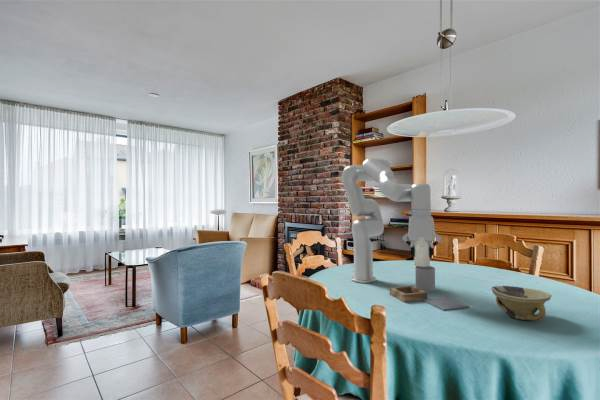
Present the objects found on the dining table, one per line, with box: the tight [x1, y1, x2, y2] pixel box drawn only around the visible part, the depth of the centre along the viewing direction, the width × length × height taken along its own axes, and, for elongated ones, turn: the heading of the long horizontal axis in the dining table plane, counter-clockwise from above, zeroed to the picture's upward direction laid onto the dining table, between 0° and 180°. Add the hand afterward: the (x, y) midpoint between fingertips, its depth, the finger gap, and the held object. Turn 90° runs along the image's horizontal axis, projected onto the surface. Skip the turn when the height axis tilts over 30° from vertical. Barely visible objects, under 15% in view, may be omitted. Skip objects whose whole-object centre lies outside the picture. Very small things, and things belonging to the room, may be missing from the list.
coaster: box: [422, 296, 470, 312], centre depth 127 cm, size 12×12×1 cm
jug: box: [413, 237, 431, 267], centre depth 132 cm, size 8×6×12 cm
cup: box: [415, 265, 436, 293], centre depth 148 cm, size 8×8×10 cm
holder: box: [389, 285, 428, 303], centre depth 137 cm, size 11×11×3 cm
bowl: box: [490, 285, 552, 322], centre depth 113 cm, size 18×18×10 cm
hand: (422, 256), depth 133 cm, fingers closed on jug, 6 cm apart
